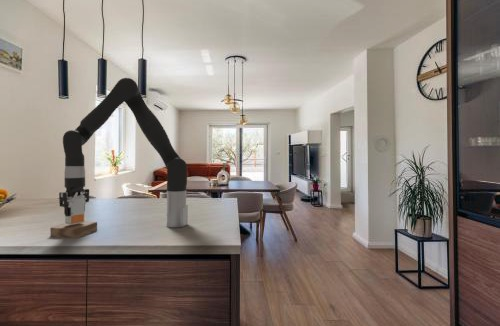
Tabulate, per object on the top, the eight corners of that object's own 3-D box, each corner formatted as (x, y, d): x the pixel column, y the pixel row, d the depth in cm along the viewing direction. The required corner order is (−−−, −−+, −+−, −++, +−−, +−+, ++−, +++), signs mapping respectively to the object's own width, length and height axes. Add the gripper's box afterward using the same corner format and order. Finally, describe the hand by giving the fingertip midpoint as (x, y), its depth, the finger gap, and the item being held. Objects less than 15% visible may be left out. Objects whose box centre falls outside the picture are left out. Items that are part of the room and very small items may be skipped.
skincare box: (69, 225, 111) (69, 196, 110) (65, 223, 113) (64, 196, 113) (85, 222, 116) (84, 195, 116) (80, 220, 118) (80, 194, 118)
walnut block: (97, 230, 120) (97, 222, 120) (76, 238, 108) (76, 229, 108) (73, 229, 121) (73, 221, 121) (50, 237, 109) (50, 227, 109)
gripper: (69, 177, 106) (69, 218, 107) (94, 175, 121) (94, 211, 121) (52, 177, 107) (53, 217, 108) (80, 175, 122) (80, 210, 122)
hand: (75, 214), depth 114 cm, fingers closed on skincare box, 7 cm apart
